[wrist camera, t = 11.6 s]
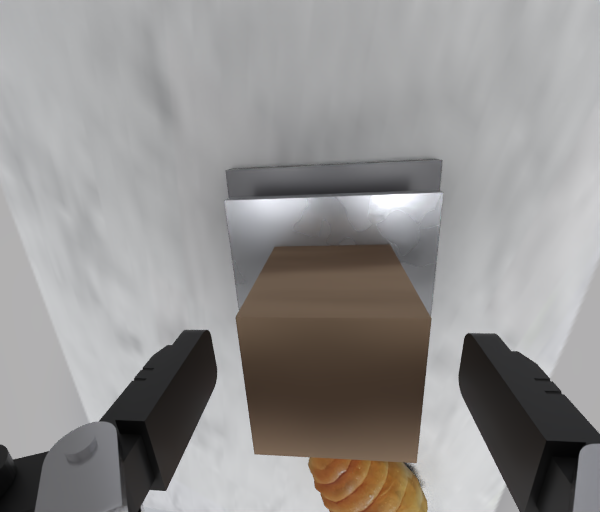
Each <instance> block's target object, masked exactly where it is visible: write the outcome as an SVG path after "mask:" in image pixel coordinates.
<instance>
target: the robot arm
mask: <svg viewBox="0 0 600 512" xmlns="http://www.w3.org/2000/svg"><path fill="white" fill-rule="evenodd" d="M216 379H217V366H216V360H215V355H214V349H213V344H212V338H211V334H210V332H209V331H208V330H184V331H183V332H182V333H181V334H180V336H179V337H178V338H177V339H176V341H175V342H174V343H173V345H167V346H166V347H164V348H163V349H161V350H160V351H159V352H157V353H156V354H154V355H153V356H152V357H151V358H150V360H149V361H148V362H147V363H146V365H145V366H144V367H143V370H141V371H140V372H139V373H138V374H137V376H136V377H135V378H134V381H132V382H131V383H130V384H129V385H128V387H127V388H126V389H125V390H124V391H123V393H122V394H121V395H120V396H119V397H118V399H117V400H116V401H115V402H114V404H113V405H112V406H111V407H110V408H109V410H108V411H107V412H106V413H105V415H104V416H103V417H102V418H101V419H100V421H99V422H93V423H89V424H86V425H83V426H81V427H79V428H77V429H75V430H73V431H71V432H70V433H68V434H67V435H65V436H64V437H63V438H61V439H60V440H59V441H58V442H57V443H56V444H55V445H54V446H53V447H52V448H51V449H50V451H48V452H44V453H40V454H35V455H31V456H27V457H23V458H19V459H14V460H13V459H12V457H11V456H10V454H9V452H8V450H7V448H6V447H5V446H3V445H0V512H144V507H143V504H142V503H143V501H144V499H145V497H146V495H147V494H148V492H149V490H160V491H166V490H167V488H168V485H169V483H170V481H171V479H172V477H173V475H174V473H175V471H176V468H177V466H178V464H179V462H180V460H181V458H182V456H183V454H184V451H185V449H186V447H187V445H188V443H189V441H190V439H191V437H192V434H193V432H194V430H195V428H196V426H197V424H198V422H199V419H200V417H201V415H202V413H203V411H204V409H205V407H206V405H207V402H208V400H209V398H210V396H211V394H212V392H213V390H214V387H215V384H216ZM459 386H460V391H461V394H462V397H463V399H464V401H465V403H466V405H467V407H468V409H469V411H470V413H471V415H472V417H473V419H474V421H475V423H476V425H477V427H478V429H479V431H480V433H481V435H482V437H483V439H484V441H485V443H486V445H487V447H488V449H489V451H490V453H491V455H492V457H493V459H494V461H495V463H496V465H497V467H498V469H499V471H500V473H501V475H502V477H503V479H504V481H505V483H506V485H507V487H508V489H509V491H510V493H511V495H512V497H513V499H514V501H515V503H516V505H517V507H518V509H519V511H520V512H600V434H599V433H598V432H597V431H596V429H595V428H594V427H593V426H592V425H591V424H590V423H589V422H588V421H587V419H586V418H585V417H584V416H583V415H582V414H581V413H580V412H579V411H578V410H577V408H576V407H575V406H574V405H573V404H572V403H571V402H570V401H569V399H568V398H567V397H566V396H565V395H562V394H561V391H560V389H559V388H558V387H557V386H556V385H555V384H554V383H553V382H551V381H550V378H549V377H548V376H547V375H546V374H545V373H544V371H543V370H542V369H541V368H540V367H539V366H538V365H537V364H536V363H535V362H533V361H532V360H530V359H529V358H527V357H525V356H524V355H522V354H521V353H519V352H517V351H511V350H510V349H509V348H508V347H507V346H506V344H505V343H504V342H503V341H502V340H501V338H500V337H499V336H498V335H497V334H481V333H468V334H466V336H465V338H464V344H463V350H462V357H461V363H460V370H459Z"/></svg>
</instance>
